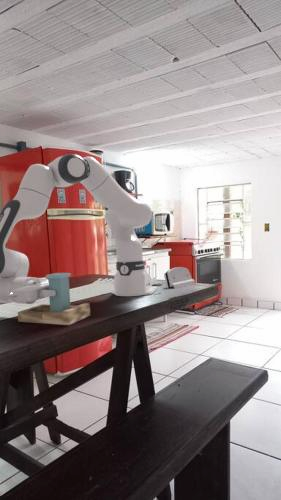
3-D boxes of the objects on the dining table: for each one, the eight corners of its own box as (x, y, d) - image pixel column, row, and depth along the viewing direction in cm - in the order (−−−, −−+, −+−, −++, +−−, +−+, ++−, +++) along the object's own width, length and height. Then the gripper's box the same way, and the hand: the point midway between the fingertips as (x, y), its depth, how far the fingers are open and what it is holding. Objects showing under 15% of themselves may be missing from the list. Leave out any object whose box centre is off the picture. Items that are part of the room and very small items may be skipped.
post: (58, 312, 113) (56, 272, 113) (73, 313, 111) (70, 272, 111) (48, 316, 108) (45, 275, 108) (62, 317, 106) (60, 275, 106)
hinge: (174, 288, 158) (168, 267, 160) (167, 291, 162) (161, 270, 164) (196, 283, 170) (189, 264, 172) (188, 286, 173) (182, 267, 175)
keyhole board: (43, 312, 120) (42, 301, 120) (90, 315, 112) (89, 303, 112) (18, 321, 109) (17, 308, 109) (69, 325, 101) (68, 311, 101)
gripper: (2, 285, 105) (39, 286, 99) (46, 276, 124) (78, 276, 118) (4, 306, 105) (40, 308, 100) (47, 294, 124) (79, 295, 119)
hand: (61, 291), depth 109 cm, fingers closed on post, 4 cm apart
